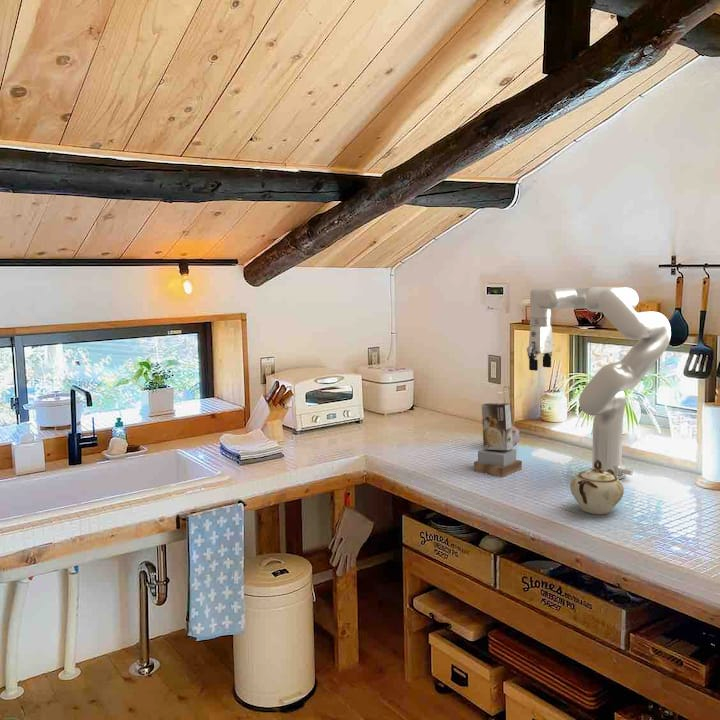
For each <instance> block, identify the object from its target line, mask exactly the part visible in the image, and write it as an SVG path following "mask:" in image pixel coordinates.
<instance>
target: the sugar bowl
mask: <svg viewBox="0 0 720 720" xmlns="http://www.w3.org/2000/svg"><path fill="white" fill-rule="evenodd" d="M597 463H598V464H599V465H598V467H597ZM601 465H602V464H601V462H600V461H599V460H596V461H595V462H594V467H595V469H593V470H588V469H587V470H586V471H582V472H578V473H577V475H575V476H574V477H572V480H571V481H570V484H569V489H570V493H571V495H572V497H573V498H574V500H575V501H576V502H577V504H578V506H580V509H581V510H582V511H584V512H585V513H588V514H592V515H593V514H594V515H607V514H609V513H611V512H612V510H614V508H615V507H616V506H617V505H618V504H619V502H621V500H622V498H623V497H624V493H625V488H624V486H623V485H624V484H623V483H622V482H621V479H618V478H617V477H616V476H615V475H614V472H613V470H611V469H608V470H606V471H603V470H600V469H601V468H602V466H601Z"/></svg>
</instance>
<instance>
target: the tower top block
mask: <svg viewBox="0 0 720 720" xmlns="http://www.w3.org/2000/svg"><path fill="white" fill-rule="evenodd" d="M516 460H517V448H512V449H509V450H487V449H484V448H482V449H481V450H478V451H477V461H478V463H484V464H490V465H496V466H503V467H504V466H506V465H508V464H510V463H512V462H514V461H516Z"/></svg>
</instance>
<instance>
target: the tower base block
mask: <svg viewBox="0 0 720 720" xmlns="http://www.w3.org/2000/svg"><path fill="white" fill-rule="evenodd" d="M520 470H521V471H522V470H523V461H522V460H519V459H516V461H514V462H512V463H510V464H508V465H506V466H504V467H503V466H496V465H490V464H484V463H478V460H475V461H473V471H474V472H476V471H478V472H477V473H480V472H482V473H481V474H485V473H487V474H486V475H489V474H491V475H490V476H493V475H496V476H495V477H498V476H500V477H499V478H505V477H507V475H508V476H510V475H513V474H515V472H516V473H518V472H520ZM517 471H518V472H517ZM512 473H513V474H512ZM509 474H510V475H509ZM504 476H505V477H504Z"/></svg>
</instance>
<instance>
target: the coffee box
mask: <svg viewBox="0 0 720 720" xmlns="http://www.w3.org/2000/svg"><path fill="white" fill-rule="evenodd" d="M481 420H482V440H483V441H482V442H483V449H487V450H509V449H514V446H513V442H512V425H513V424H512V423H513V422H512V421H513V418H512V403H501V402H500V403H499V402H497V403H492V402H491V403H489V402H488V403H483V404H481Z"/></svg>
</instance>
